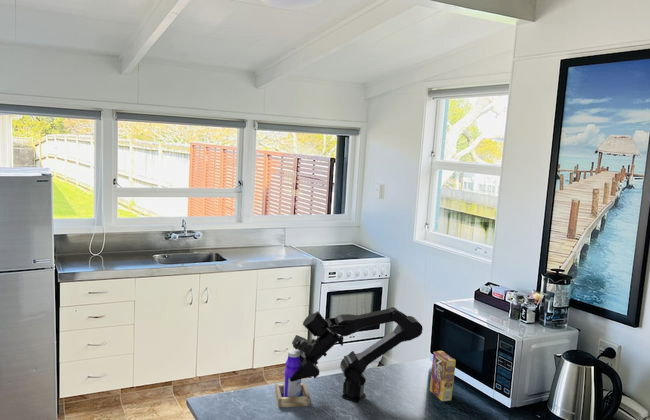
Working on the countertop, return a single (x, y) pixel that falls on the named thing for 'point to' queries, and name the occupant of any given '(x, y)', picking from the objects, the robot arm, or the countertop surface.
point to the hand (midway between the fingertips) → (289, 375)
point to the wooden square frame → (292, 400)
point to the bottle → (291, 367)
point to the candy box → (442, 375)
